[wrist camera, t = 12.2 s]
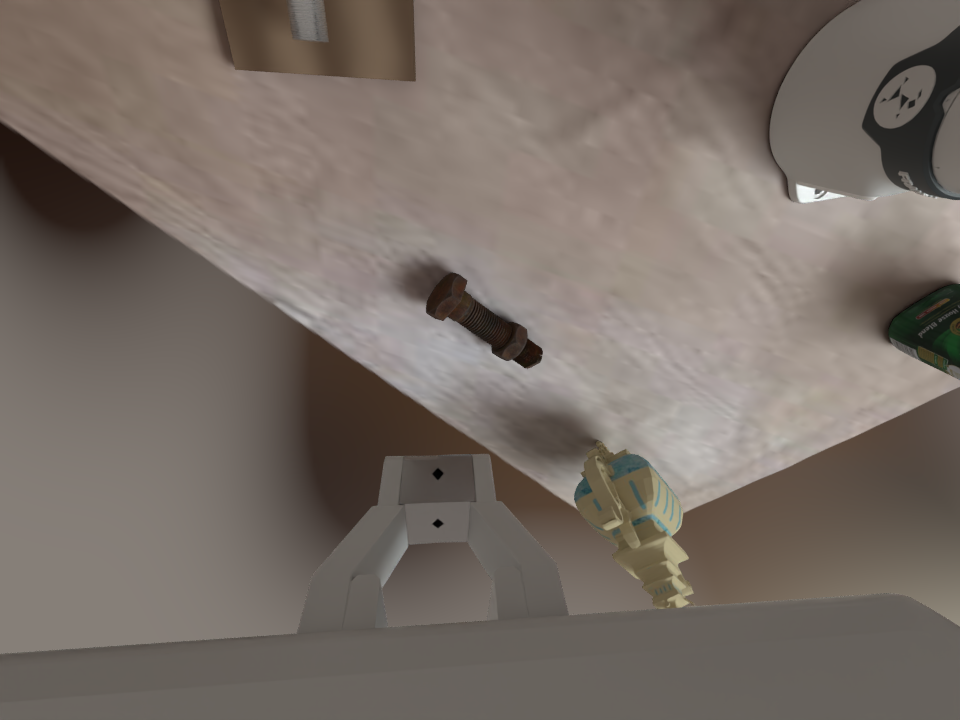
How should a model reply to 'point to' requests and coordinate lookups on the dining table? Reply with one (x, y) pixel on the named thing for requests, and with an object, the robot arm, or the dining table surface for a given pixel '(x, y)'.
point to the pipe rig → (323, 37)
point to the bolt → (482, 322)
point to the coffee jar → (931, 330)
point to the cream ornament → (636, 521)
